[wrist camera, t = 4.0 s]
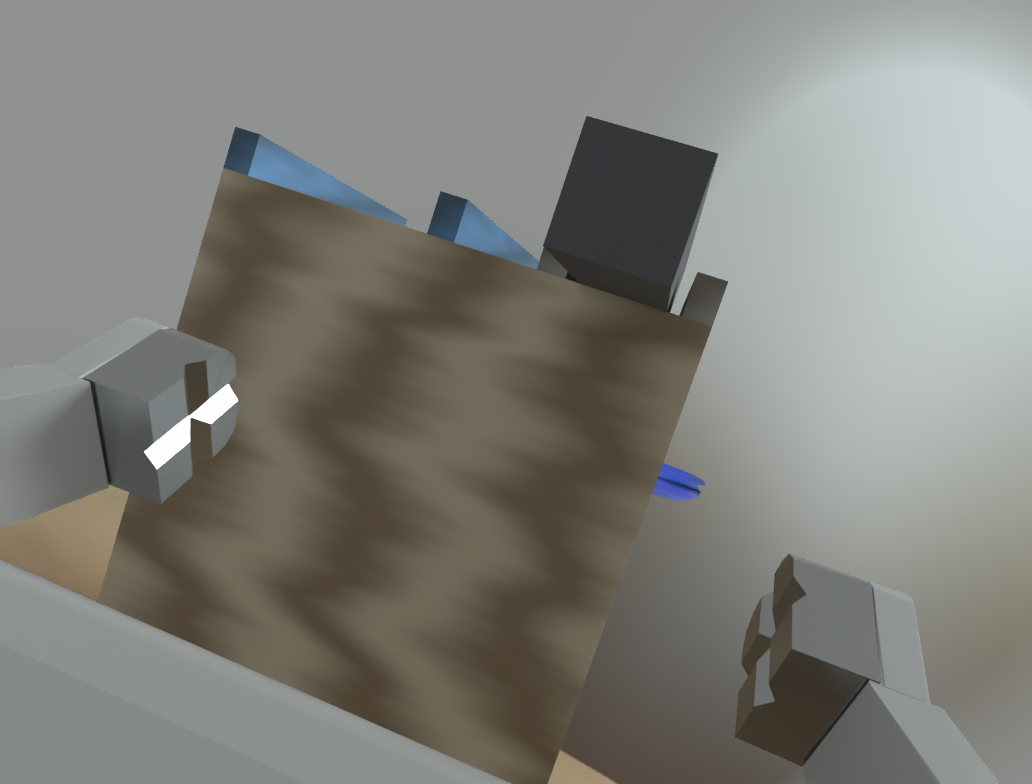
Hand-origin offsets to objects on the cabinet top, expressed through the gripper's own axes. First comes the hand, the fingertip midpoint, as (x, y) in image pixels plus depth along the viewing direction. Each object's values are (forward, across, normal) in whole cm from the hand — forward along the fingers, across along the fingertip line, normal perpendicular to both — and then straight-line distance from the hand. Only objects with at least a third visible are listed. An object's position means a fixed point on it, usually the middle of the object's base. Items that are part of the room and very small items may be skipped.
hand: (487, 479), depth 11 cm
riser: (+9, +6, +30) cm, 32 cm away
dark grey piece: (+17, 0, +5) cm, 18 cm away
